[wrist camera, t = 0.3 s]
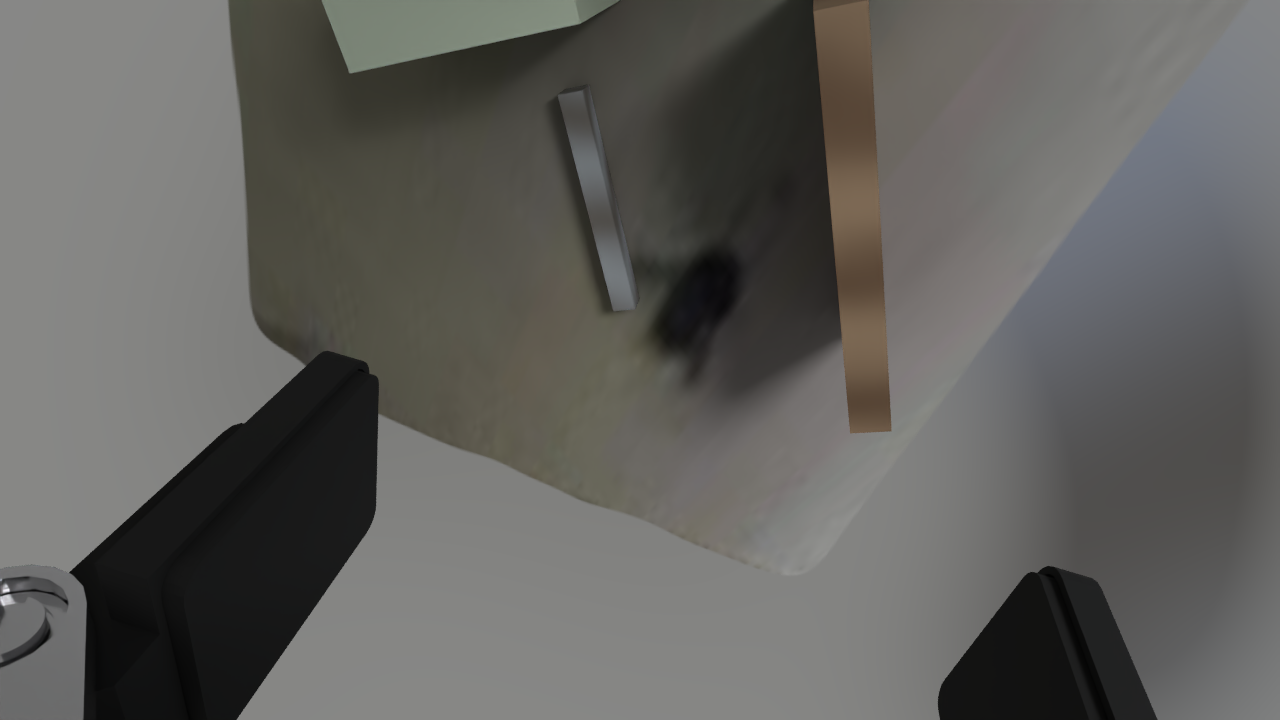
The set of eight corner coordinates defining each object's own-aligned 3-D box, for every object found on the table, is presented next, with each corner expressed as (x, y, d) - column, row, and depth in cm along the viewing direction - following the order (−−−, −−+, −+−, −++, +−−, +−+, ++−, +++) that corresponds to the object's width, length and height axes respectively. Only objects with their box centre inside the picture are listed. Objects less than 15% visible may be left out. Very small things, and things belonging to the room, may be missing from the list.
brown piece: (551, 35, 42) (469, 80, 32) (853, -31, 37) (868, -1, 27) (628, 338, 52) (583, 446, 42) (875, 316, 47) (891, 431, 37)
